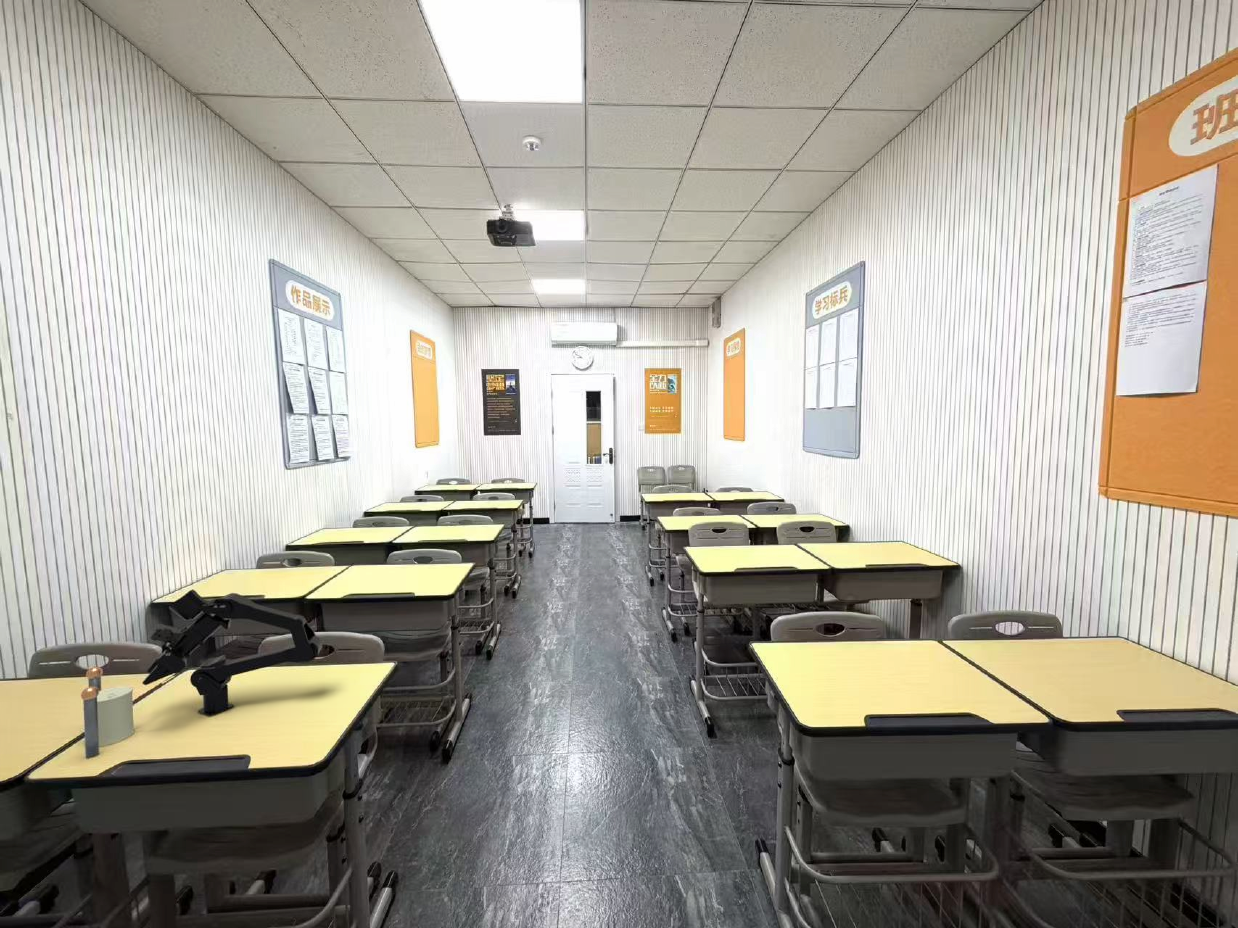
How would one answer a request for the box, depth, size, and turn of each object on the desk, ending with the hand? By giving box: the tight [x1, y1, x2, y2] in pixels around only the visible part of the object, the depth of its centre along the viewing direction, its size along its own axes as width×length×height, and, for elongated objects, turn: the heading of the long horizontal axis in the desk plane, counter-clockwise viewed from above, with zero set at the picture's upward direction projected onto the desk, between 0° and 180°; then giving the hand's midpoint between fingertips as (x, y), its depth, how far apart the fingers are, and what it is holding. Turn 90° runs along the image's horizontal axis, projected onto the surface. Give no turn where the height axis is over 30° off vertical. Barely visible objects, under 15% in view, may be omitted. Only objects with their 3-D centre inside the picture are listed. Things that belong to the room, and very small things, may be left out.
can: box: [97, 685, 135, 748], centre depth 140 cm, size 9×9×12 cm
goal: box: [80, 666, 104, 759], centre depth 138 cm, size 20×3×17 cm, turn 42°
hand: (146, 677), depth 146 cm, fingers open, 9 cm apart
